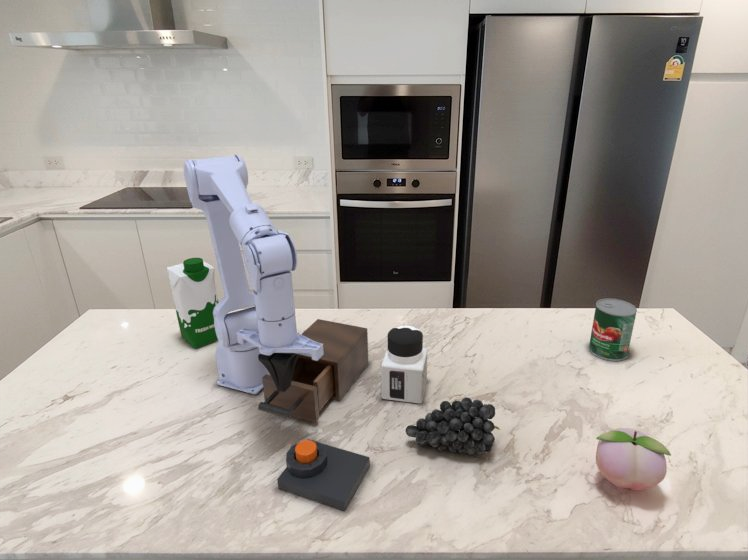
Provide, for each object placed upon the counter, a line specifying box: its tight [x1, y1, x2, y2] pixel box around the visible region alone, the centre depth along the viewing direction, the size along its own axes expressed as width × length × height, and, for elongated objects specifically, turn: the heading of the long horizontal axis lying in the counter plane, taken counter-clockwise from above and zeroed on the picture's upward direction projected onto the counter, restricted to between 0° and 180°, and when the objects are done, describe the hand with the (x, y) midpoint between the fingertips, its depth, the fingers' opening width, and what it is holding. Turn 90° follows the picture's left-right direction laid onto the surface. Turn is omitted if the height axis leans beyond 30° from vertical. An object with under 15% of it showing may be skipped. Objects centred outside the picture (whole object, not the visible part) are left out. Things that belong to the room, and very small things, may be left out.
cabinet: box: [299, 318, 369, 402], centre depth 96 cm, size 14×12×9 cm
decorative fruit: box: [595, 427, 672, 491], centre depth 70 cm, size 9×8×10 cm
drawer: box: [257, 357, 336, 423], centre depth 87 cm, size 17×10×7 cm, turn 158°
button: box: [295, 439, 317, 464], centre depth 73 cm, size 3×3×2 cm
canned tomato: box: [588, 297, 638, 362], centre depth 103 cm, size 8×8×11 cm
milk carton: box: [166, 257, 220, 350], centre depth 109 cm, size 9×9×20 cm
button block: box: [276, 439, 371, 512], centre depth 73 cm, size 12×9×4 cm
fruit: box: [405, 397, 501, 456], centre depth 78 cm, size 9×8×15 cm
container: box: [380, 325, 428, 404], centre depth 91 cm, size 8×8×13 cm
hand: (284, 387), depth 78 cm, fingers closed
